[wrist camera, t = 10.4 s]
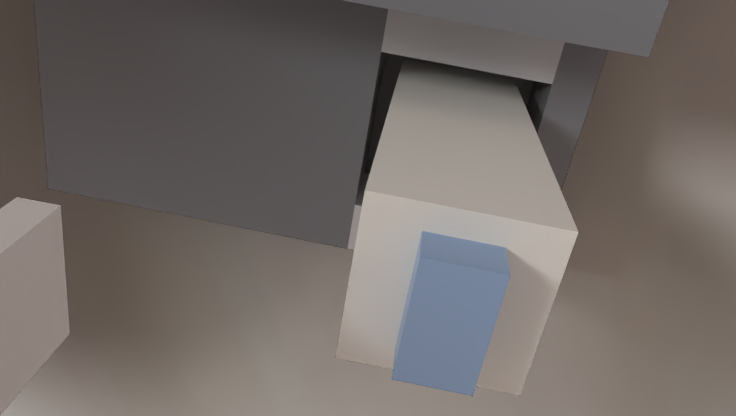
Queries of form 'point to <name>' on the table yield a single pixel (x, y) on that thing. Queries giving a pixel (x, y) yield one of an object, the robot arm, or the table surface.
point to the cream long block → (456, 236)
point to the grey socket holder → (292, 94)
